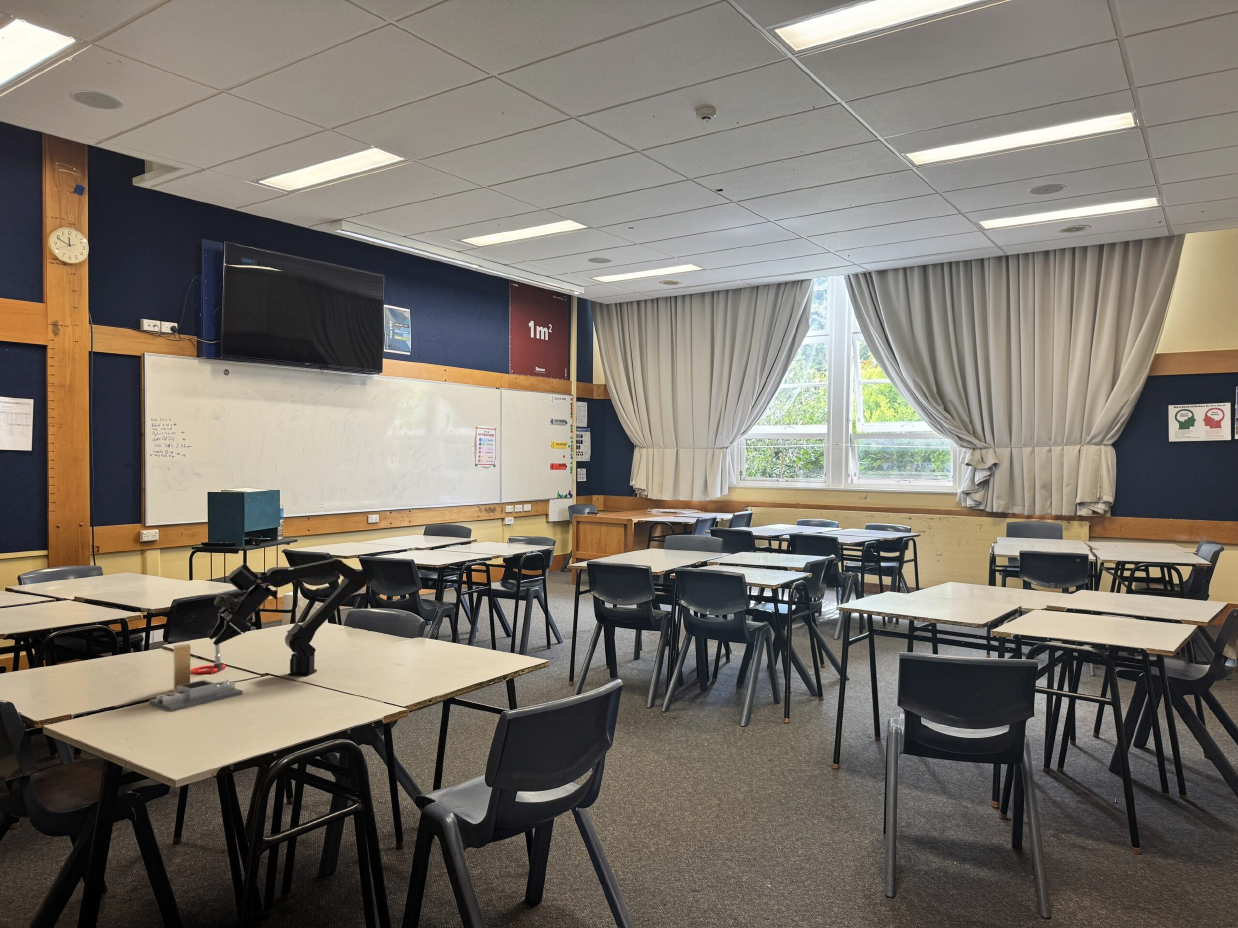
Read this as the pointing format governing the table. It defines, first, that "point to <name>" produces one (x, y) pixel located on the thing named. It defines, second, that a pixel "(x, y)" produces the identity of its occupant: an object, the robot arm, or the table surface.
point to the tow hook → (216, 666)
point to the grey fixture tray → (195, 694)
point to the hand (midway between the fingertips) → (211, 641)
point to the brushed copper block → (181, 665)
